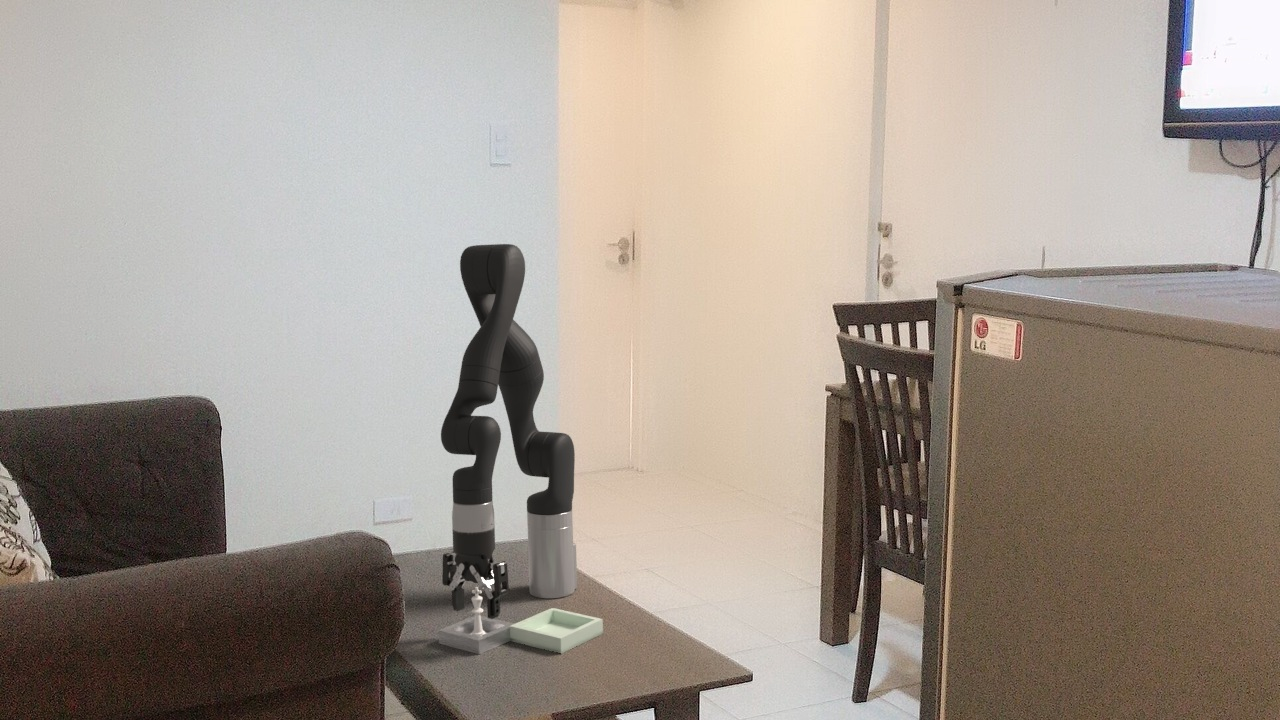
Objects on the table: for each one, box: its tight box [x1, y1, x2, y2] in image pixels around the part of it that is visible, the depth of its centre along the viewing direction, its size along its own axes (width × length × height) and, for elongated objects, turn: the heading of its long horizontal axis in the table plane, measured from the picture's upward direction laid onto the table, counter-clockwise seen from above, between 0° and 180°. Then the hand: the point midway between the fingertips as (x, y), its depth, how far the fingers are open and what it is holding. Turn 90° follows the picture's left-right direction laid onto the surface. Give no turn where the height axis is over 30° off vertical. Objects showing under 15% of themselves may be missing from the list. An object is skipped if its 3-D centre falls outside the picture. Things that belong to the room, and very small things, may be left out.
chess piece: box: [470, 586, 486, 637], centre depth 209 cm, size 5×5×10 cm
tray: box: [509, 607, 604, 655], centre depth 211 cm, size 12×12×3 cm
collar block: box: [438, 615, 514, 655], centre depth 210 cm, size 10×10×2 cm
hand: (475, 613), depth 209 cm, fingers open, 8 cm apart
